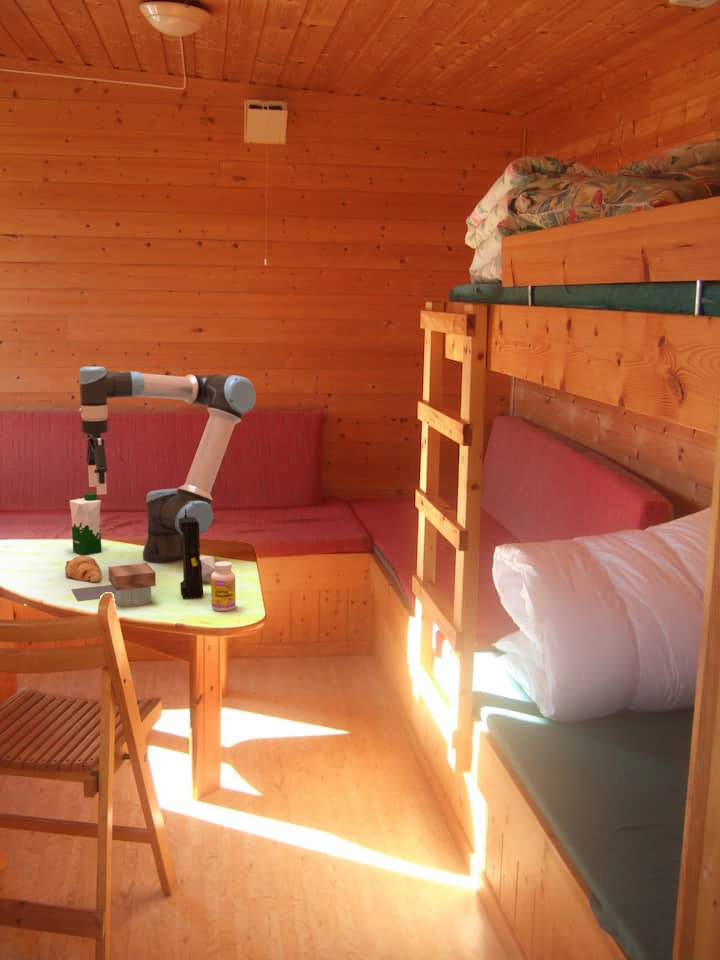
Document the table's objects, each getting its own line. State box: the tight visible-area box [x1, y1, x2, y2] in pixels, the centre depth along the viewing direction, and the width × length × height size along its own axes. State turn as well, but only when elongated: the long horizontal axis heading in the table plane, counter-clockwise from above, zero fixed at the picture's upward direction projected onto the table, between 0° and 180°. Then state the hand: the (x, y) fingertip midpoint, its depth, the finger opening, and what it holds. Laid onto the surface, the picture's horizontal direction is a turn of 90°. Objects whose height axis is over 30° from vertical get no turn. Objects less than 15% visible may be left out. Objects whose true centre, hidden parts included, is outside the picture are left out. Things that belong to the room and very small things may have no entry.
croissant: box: [64, 554, 103, 583], centre depth 304 cm, size 21×10×8 cm, turn 41°
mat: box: [71, 584, 114, 602], centre depth 286 cm, size 13×13×1 cm
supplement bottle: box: [210, 561, 236, 612], centre depth 272 cm, size 7×7×13 cm
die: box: [200, 555, 217, 584], centre depth 298 cm, size 8×9×10 cm
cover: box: [108, 562, 157, 591], centre depth 277 cm, size 11×11×4 cm
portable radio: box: [179, 509, 205, 599], centre depth 282 cm, size 8×6×25 cm
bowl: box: [113, 587, 152, 607], centre depth 278 cm, size 10×10×5 cm
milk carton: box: [69, 492, 103, 556], centre depth 332 cm, size 9×9×20 cm
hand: (97, 490), depth 292 cm, fingers open, 13 cm apart
